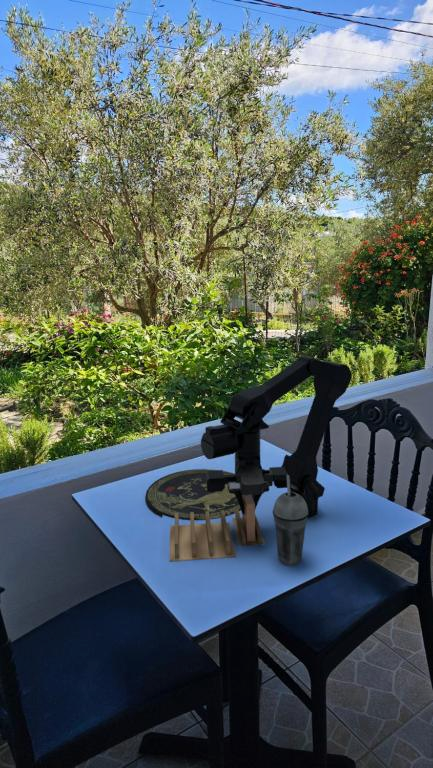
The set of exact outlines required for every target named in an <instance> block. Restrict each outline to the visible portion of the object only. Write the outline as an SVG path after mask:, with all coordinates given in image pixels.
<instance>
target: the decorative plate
mask: <svg viewBox="0 0 433 768" xmlns="http://www.w3.org/2000/svg"><path fill="white" fill-rule="evenodd" d="M212 470H215V469H210V468H196V469H195V468H194V469H186V470H180V471H176V472H173V473H169V474H167V475H164V476H161V477H160V478H159V479H157V480H155V481H154V482H153V483H152V484H151V485H150V486H149V487H148V488H147V490H146V492H145V497H144V498H145V503H146V506H147V508H148V509H149V511H151V512H152V513H153V514H154V515H155V516H159V517H160V518H163V516H165V517H168V518H171V519H175V513H178V520H182V521H190V512H194V521H206V515H205V511H209V516H210V520H217V519H221V510H224V513H225V518H226V517H229V516H230V517H231V516H232V515H234V514H235V509H239V512H241V508H240V505H239V502H238V500H237V498H236V496H235V495H234V494H230V493H229V491H228V487H227V484H225V489H224V490H223V491H221V492H208V491H207V486H206V473H207V471H212ZM223 474H224V475H235V472H231V471H227V470H223Z"/></svg>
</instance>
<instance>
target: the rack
mask: <svg viewBox="0 0 433 768" xmlns="http://www.w3.org/2000/svg"><path fill="white" fill-rule="evenodd" d="M205 515H206V520H205V523H195V520H194V512H190V520H189V521H190V524H179V522H180V521H179V520H180V519H178V513H175V518H174V525H170V527H169V529H170V530H169V558H168V559H169V563H170V562H182V561H184V562H185V561H201V560H216V559H217V560H218V559H227V558H228V559H229V558H230V559H231V558H237V554H236V548H235V545H234V540H233V535H232V530H231V527H230V522H229V521H227V518H226V517H225V513H224V510H221V518H220V522H214V523H213V522H211V519H210V516H209V511H205Z"/></svg>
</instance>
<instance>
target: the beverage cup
mask: <svg viewBox="0 0 433 768" xmlns="http://www.w3.org/2000/svg"><path fill="white" fill-rule="evenodd" d="M286 490H287V491H286V492H284V493H282V494H280V495H279V496H278V497H277V498H276V499H275V502H274V505H273V509H272V514H273V521H274V524H275V536H276V537H275V538H276V548H277V556H278V557H277V558H278V561H279V562H280V564H282V565H285V566H288V567H294V566H297V565H299V564H301V561H302V557H303V549H304V540H305V531H306V525H307V522H308V519H309V518H308V515H309V512H308V507H307V504H306V502H305V500H304V499H303V498H302V497H301V496H300V495H299V494H297V493H294V492H290V481H289V475H287V488H286Z"/></svg>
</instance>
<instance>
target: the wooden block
mask: <svg viewBox="0 0 433 768" xmlns="http://www.w3.org/2000/svg"><path fill="white" fill-rule="evenodd" d="M242 495H243V494H242ZM243 502H244V514H242V511H240V512H241V513H240V516H241V518H242V524H243V528H244V531H245V535H246V540H247V542H249V541H255V515H256V509H255V503H254V500H253V497H252V494H249V495H243Z"/></svg>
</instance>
